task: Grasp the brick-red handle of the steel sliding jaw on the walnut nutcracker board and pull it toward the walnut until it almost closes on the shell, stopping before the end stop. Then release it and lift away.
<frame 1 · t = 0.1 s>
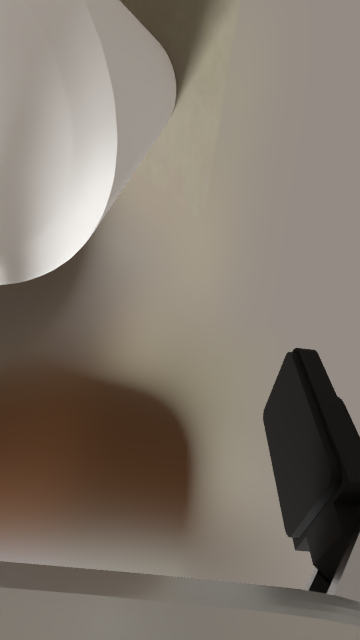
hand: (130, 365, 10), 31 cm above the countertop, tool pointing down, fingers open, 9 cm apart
cylinder container: (127, 89, 32), on the countertop
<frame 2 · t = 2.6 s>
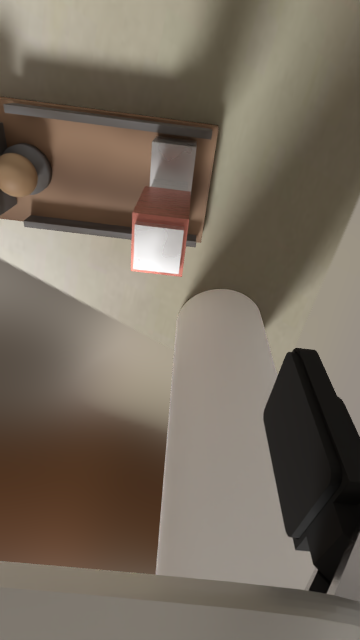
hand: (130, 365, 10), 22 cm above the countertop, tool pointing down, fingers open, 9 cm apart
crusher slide: (166, 211, 22), point 8 cm above the countertop, slide at 0.0 cm
cylinder container: (218, 324, 37), on the countertop
nutcracker board: (102, 172, 28), on the countertop
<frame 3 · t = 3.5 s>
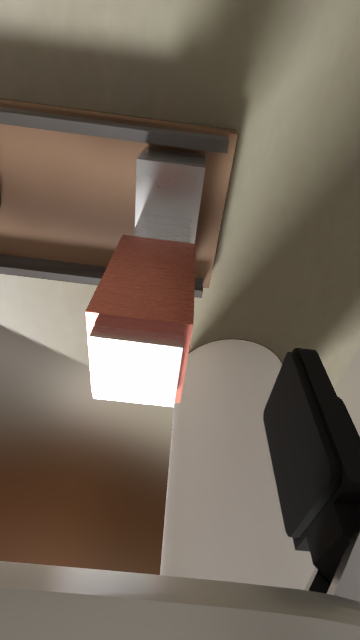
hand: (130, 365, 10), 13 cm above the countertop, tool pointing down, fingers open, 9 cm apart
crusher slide: (158, 268, 14), point 8 cm above the countertop, slide at 0.0 cm
cylinder container: (229, 378, 29), on the countertop
nutcracker board: (73, 194, 20), on the countertop
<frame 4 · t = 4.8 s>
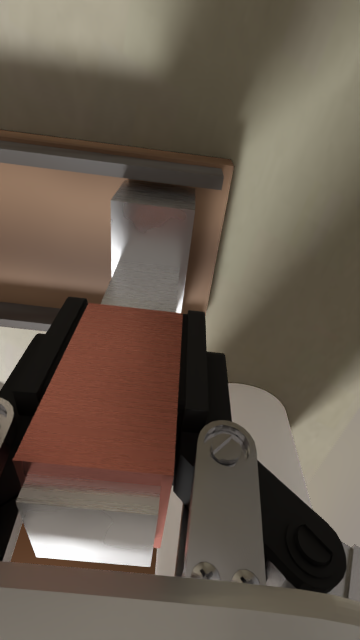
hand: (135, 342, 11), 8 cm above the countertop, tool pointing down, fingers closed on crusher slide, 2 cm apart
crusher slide: (137, 337, 11), point 8 cm above the countertop, slide at 0.0 cm, touching gripper
cylinder container: (226, 422, 26), on the countertop
nutcracker board: (45, 230, 17), on the countertop
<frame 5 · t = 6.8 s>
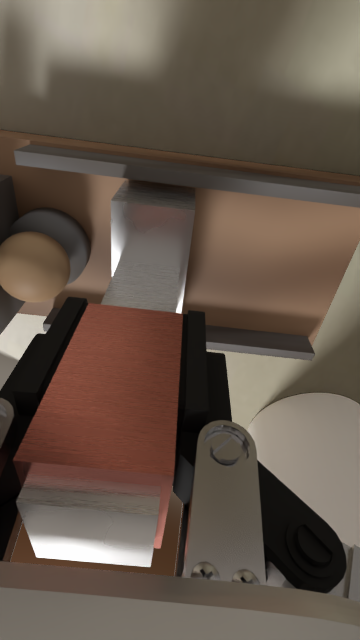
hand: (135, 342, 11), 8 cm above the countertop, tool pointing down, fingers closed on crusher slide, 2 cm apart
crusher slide: (137, 337, 11), point 8 cm above the countertop, slide at 6.5 cm, touching gripper
cylinder container: (305, 430, 27), on the countertop
nutcracker board: (167, 245, 18), on the countertop
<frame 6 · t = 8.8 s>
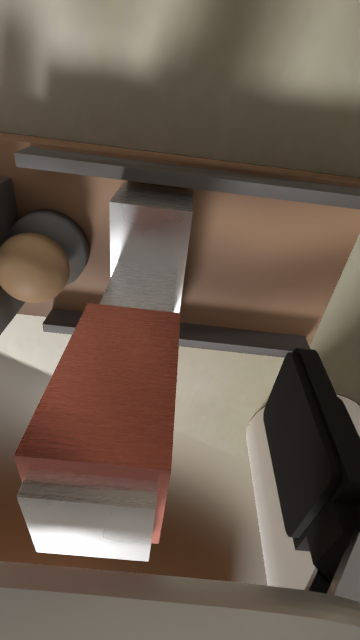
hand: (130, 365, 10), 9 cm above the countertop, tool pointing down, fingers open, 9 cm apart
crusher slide: (135, 336, 11), point 8 cm above the countertop, slide at 6.5 cm
cylinder container: (304, 430, 27), on the countertop
nutcracker board: (166, 246, 18), on the countertop
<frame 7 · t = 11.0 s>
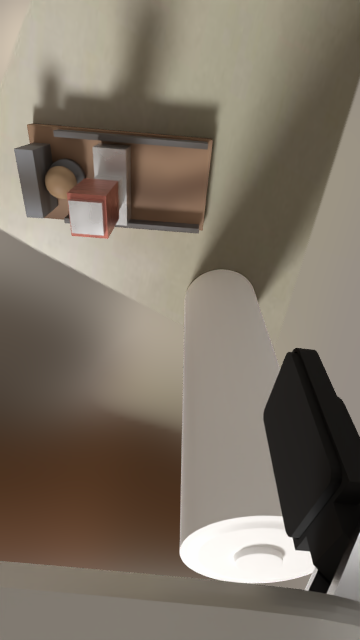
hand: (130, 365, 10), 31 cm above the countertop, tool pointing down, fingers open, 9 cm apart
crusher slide: (104, 197, 29), point 8 cm above the countertop, slide at 6.5 cm
cylinder container: (219, 300, 44), on the countertop
nutcracker board: (123, 178, 36), on the countertop
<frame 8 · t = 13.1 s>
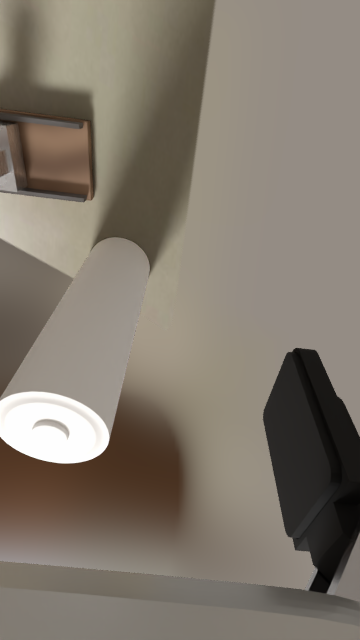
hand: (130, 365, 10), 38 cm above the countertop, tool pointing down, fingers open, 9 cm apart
cylinder container: (119, 265, 51), on the countertop
nutcracker board: (21, 152, 42), on the countertop
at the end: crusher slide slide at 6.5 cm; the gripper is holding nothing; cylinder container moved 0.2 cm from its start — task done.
